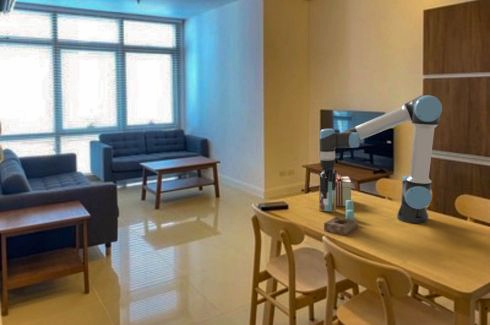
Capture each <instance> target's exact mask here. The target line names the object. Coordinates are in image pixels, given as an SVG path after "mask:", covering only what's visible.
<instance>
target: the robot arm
mask: <svg viewBox="0 0 490 325" xmlns="http://www.w3.org/2000/svg"><path fill="white" fill-rule="evenodd" d="M442 105H443V104H442V102H441V101H440V99H439V98H438V97H436V96H433V95H429V94H423V95H419V96H417V97H415V98H414V99H412V100H409V101H408V102H406V103H403V104H402V106H401V107H399V108H397V109H394V110H392V111H389V112H387V113H384V114H382V115H379V116H377V117H374V118H373V119H370V120H368V121H364V123H361V124H359V125H356V126H353V127H352V128H347V129H345V130H344V131H342V132H336V130H335V129H334V128H323V129H321V130H320V131H319V151H320V152H319V155H320V161H319V162H320V167H321V168H322V171H321V173H320V172H319V173H318V175H319V185H320V191H321V192H323V204H325V205H329V192H328V181H330V182H332V203H333V190H335V189H334V188H336V174H337V169H335V167H336V148H349V149H350V148H352V149H353V148H359V147H360V141H361V140H364V139H366V138H369V137H371V136H373V135H376V134H379V133H381V132H383V131H386V130H389V129H392V128H393V127H397V126H399V125H401V124H405V123H406V122H411V124H412V126H413V127H414V133H413V141H412V142H413V143H412V153H411V160H410V171H409V175H405V176H403V177H402V179H401V184H402V185H401V204H400V207H399V208H398V211H397V216H396V218H397V219H398V220H399V221H401V222H405V223H408V224H409V223H410V224H424V223H427V222H428V221H429V213H428V210H427V207H428V205H430V203H431V201H432V183H433V181H432V180H431V179H430V169H431V162H432V160H431V159H432V154H433V153H432V151H433V145H434V144H433V143H434V137H435V136H434V134H435V128H436V127H438V126H439V123H440V122H439V121H440V116H441V114H442V113H443V112H442V111H443V106H442ZM325 177H327V178H325Z"/></svg>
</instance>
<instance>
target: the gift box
mask: <svg viewBox="0 0 490 325" xmlns="http://www.w3.org/2000/svg"><path fill="white" fill-rule="evenodd" d="M325 178H327V177H325ZM352 184H353V183H352V180H351V179H350V177H349V176H342V175H340V174H338V173H336V207H346V200H352V186H353V185H352Z"/></svg>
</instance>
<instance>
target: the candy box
mask: <svg viewBox="0 0 490 325" xmlns="http://www.w3.org/2000/svg"><path fill="white" fill-rule="evenodd" d="M318 188H319V189H318V192H319V193H318V211H320V212H328V213H335V212H336V211H337V206H336V188H334V189H335V190H333V203H332V211H325V204H323V192H321V191H320V184H319V185H318Z"/></svg>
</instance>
